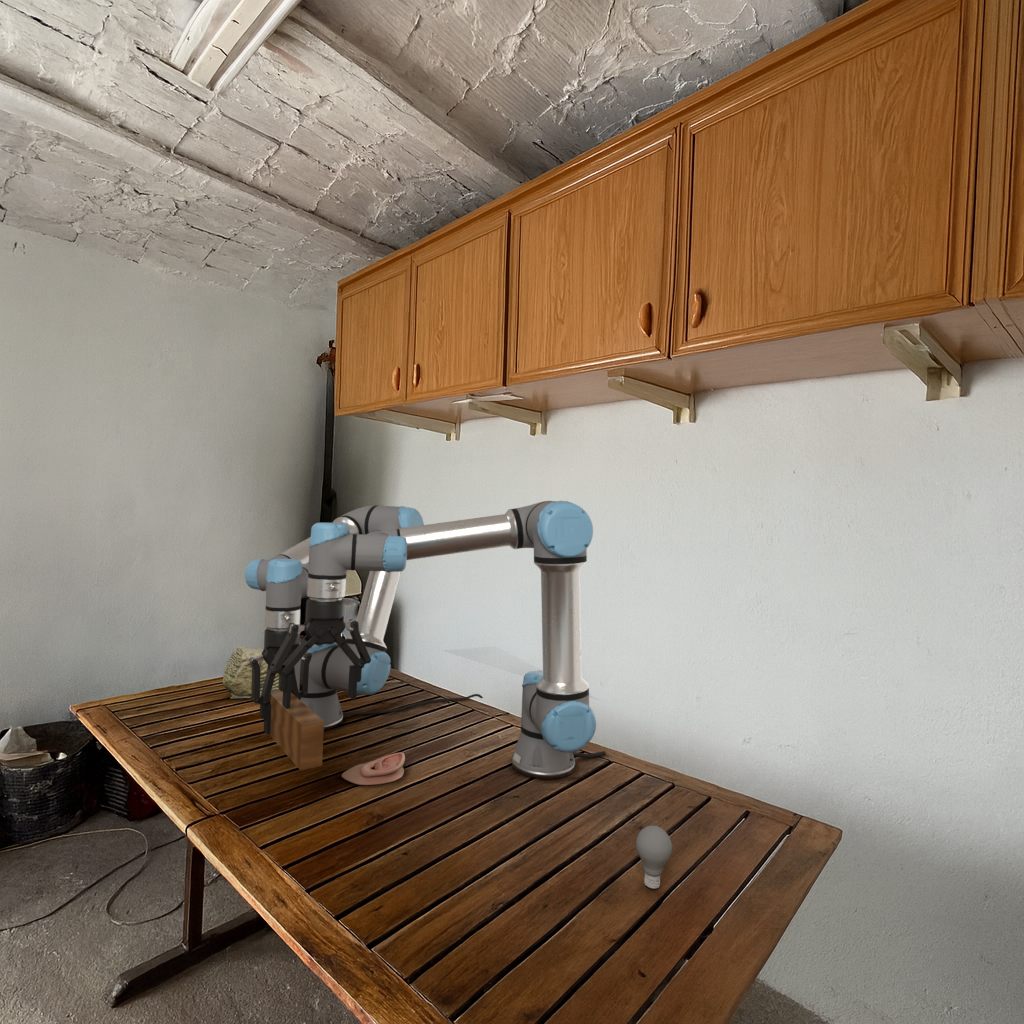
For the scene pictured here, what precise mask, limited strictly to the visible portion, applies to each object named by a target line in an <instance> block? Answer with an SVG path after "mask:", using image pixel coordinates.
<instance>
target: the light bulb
mask: <svg viewBox="0 0 1024 1024" xmlns="http://www.w3.org/2000/svg"><path fill="white" fill-rule="evenodd" d="M635 848H636V849H635V850H636V852H637V854H638V857H639V858H640V860H641V863H642V869H643V872H644V879H643V880H644V885H645V886H647V887H648V888H650V889H658V888H660V886H661V875H662V874H663V871H664V867H665V866H666V863H668V861H669V860H670V858H671V855H672V852H673V842H672V840H671V838H670V836H669V834H668V832H666V831H665V829H663V828H662V827H660V826H657V825H648V826H645V827H643V828H642V829H641V830H640V831H639V832H638V833H637V835H636V839H635Z"/></svg>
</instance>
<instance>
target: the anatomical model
mask: <svg viewBox="0 0 1024 1024" xmlns="http://www.w3.org/2000/svg"><path fill="white" fill-rule="evenodd" d="M405 761H406V755H405V752H401V751H400V752H394V753H390V754H387V755H384V756H381V757H378V758H376V759H373V760H371V761H368V762H364V763H359V764H356V765H354V766H352V767H350V768H348V769H347V770H345V771H343V773H342V774H341V778H342V779H344V780H346V781H347V782H349V783H352V784H355V785H359V786H370V785H383V784H387V783H392V782H395V781H397V780H399V779H401V778H402V777H403V776H404V773H405V769H404V767H403V766H404V764H405Z"/></svg>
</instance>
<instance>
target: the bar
mask: <svg viewBox="0 0 1024 1024" xmlns="http://www.w3.org/2000/svg"><path fill="white" fill-rule="evenodd" d="M282 701H283V691H282V692H281V691H280V690H279V689H273V690H271V694H270V697H269V701H268V702H269V703H270V704H271V731H270V734H268V735H269V736H270V737H271V739H272V740H273V741H274V742H275V743H276V745H278V747H279V748H280V749H281V750H282V751H283V752H284V754H285V755H286V756H287V757H288V758H289V759H290V760H291V762H292V763H293V764H294V765H295V766H296V767H297V768H298V770H299V771H300V772H302V771H306V770H311V769H315V768H319V767H323V758H324V732H325V731H324V721H323V720H322V719H321V718H320V717H319V716H317V715H316V714H315V713H314V712H313V711H312V710H311V709H310V708H308V707H307V706H306V705H305V704H304V703H303V702H302V701H300V700H299V699H298V698H297V697H296V696H295V695H294V694H292V693H291V703H290V709H286V708H285V707H284V706H283V705H282Z"/></svg>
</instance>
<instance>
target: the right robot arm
mask: <svg viewBox="0 0 1024 1024" xmlns="http://www.w3.org/2000/svg"><path fill="white" fill-rule="evenodd" d="M590 517H591V516H590V515H589V513H587V511H585V509H584V508H582V507H581V506H580V505H578V504H576V503H574V502H571V501H568V500H544V501H539V502H536V503H532V504H529V505H525V506H520V507H516V508H509V509H507V510H506V512H505V513H503V514H496V515H488V516H481V517H473V518H467V519H458V520H452V521H444V522H443V521H442V522H437V523H429V524H424V525H421V526H414V527H406V528H399V529H392V530H384V531H381V530H376V531H371V532H370V533H368V534H367V535H362V534H353V533H350V531H349V526H348V525H347V524H342V523H333V522H316V523H314V524H313V525H312V526H311V529H310V537H309V538H310V544H309V567H308V585H307V596H308V597H307V598H308V599H306V603H305V604H306V605H305V620H304V623H303V624H300V625H298V624H294V623H290V624H289V628H288V634H287V636H286V638H285V639H284V641H283V643H282V645H281V647H280V649H279V650H278V652H277V654H276V656H275V658H274V660H273V661H272V663H271V665H270V667H269V668H270V670H271V671H272V672H273V673H277V674H279V685H278V688H279V690H280V691H281V692H282V691H283V701H282V705H283V706H284V707H285V708H286V709H290V703H291V685H292V675H291V674H290V673H289V672H290V671H291V670H292V669H293V667H294V666H295V665H296V664H297V663H298V661H299V660H300V659H301V658H302V657H303V655H304V654H305V653H306V652H307V651H308V650H309V649H310V648H311V647H312V646H313V645H314V644H315V645H323V644H329V645H330V644H333V643H334V642H336V643H337V644H338V646H339V647H340V648H341V649H342V650H343V652H344V653H345V654H346V655H347V656H348V658H349V659H350V660H351V661H352V662H353V664H354V666H353V665H350V667H349V684H348V692H347V697H348V698H350V699H351V700H353V701H354V700H357V694H356V693H357V682H360V681H361V673H362V668H363V667H364V665H365V664H367V663H368V664H369V663H370V662H371V658H370V656H369V654H368V651H367V649H366V647H365V644H364V642H363V640H362V637H361V635H360V633H359V624H358V622H357V621H356V619H353V618H350V619H349V620H348V621H347V620H346V621H345V620H344V618H345V607H346V606H345V605H346V601H345V599H343V598H345V597H346V590H347V589H346V586H347V571H368V572H370V571H383V572H388V573H389V572H401V573H402V572H403V571H404V570H405V569H406V567H407V561H411V560H418V559H425V558H426V559H427V558H434V557H440V556H447V555H454V554H462V553H468V552H469V553H470V552H476V551H483V550H488V549H495V548H496V549H497V548H503V547H504V548H505V547H510V548H511V549H513V550H519V549H533V564H534V565H535V566H536V567H537V568H538V569H539V570H540V587H541V589H540V591H541V592H540V593H541V594H540V595H541V641H542V642H541V643H542V646H541V647H542V670H532V671H527V672H526V673H525V674H524V676H523V678H522V679H523V680H522V684H521V687H522V694H521V695H522V697H521V720H520V734H519V737H518V739H517V741H516V745H515V748H514V750H513V753H512V757H511V766H512V768H513V770H514V771H516V773H519V774H521V775H523V776H525V777H528V778H533V779H537V780H558V779H563V778H566V777H568V776H570V775H572V774H573V773H574V772H575V768H576V767H575V766H576V759H575V758H583V759H591V758H597V757H603V756H606V755H607V752H606V750H603V751H598V752H591V753H580V752H577V751H579V750H582V749H583V748H585V747H587V744H588V743H590V742H591V740H592V739H593V737H594V735H595V733H596V729H597V719H596V716H595V713H594V710H593V709H592V707H591V706H590V684H589V683H588V682H587V680H586V679H584V678H583V675H582V674H583V673H582V671H583V670H582V667H583V666H582V665H583V664H582V613H581V611H582V609H581V606H582V605H581V603H582V602H581V570H582V568H583V567H584V566H585V565H586V564H587V563H588V561H587V560H588V555H587V554H588V551H587V550H588V547H589V546H590V545H591V543H592V540H593V537H594V526H593V521H592V520H591V518H590ZM345 629H346V630H347V631H348V632H349V635H351V637H352V639H353V641H354V643H355V646H356V648H357V650H358V653H359V655H360V657H361V658H358V656H357V655H356V654H355V653H354V652H353V650H352V649H351V648H350V647H349V645H348V644H347V643H346V641H345V638H344V637H343V636H342V633H343V632H344V631H345ZM302 632H304V634H305V636H304V637H303V638H302V639H301V641H300V642H299V646H298V647H297V648H296V649H295V650H294V651H293V653H292V654H291V655H290V656H289V657H288V658H287V660H286V661H285V659H286V657H287V655H288V654H289V652H290V650H291V648H292V646H293V644H294V642H295V641H296V638H297V636H298V635H300V636H301V633H302ZM284 661H285V662H284Z"/></svg>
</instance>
